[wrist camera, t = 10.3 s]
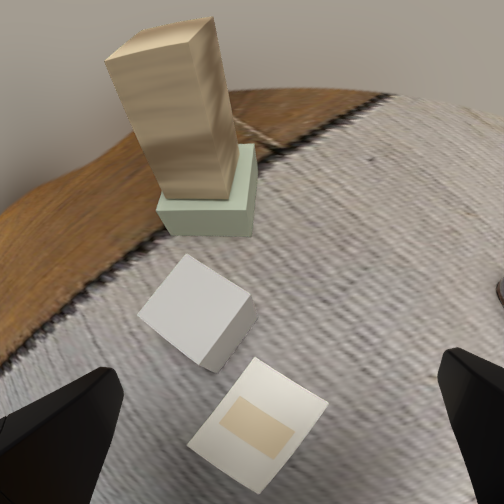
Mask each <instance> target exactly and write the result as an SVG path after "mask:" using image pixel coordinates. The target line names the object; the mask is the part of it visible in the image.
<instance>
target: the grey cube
mask: <svg viewBox="0 0 504 504" xmlns="http://www.w3.org/2000/svg"><path fill="white" fill-rule="evenodd" d="M137 315H138V316H139V317H140V318H141V319H142V320H143V321H145V322H146V323H147V324H148V325H149V326H150V327H152V328H153V329H154V330H155V331H156V332H158V333H159V334H160V335H161V336H162V337H164V338H165V339H166V340H167V341H168V342H170V343H171V344H172V345H173V346H175V347H176V348H177V349H178V350H180V351H181V352H182V353H183V354H185V355H186V356H187V357H189V358H190V359H191V360H193V361H194V362H195V363H196V364H198V365H199V366H202V367H204V368H206V369H208V370H210V371H212V372H215V373H217V374H218V373H219V371H220V370H221V369H222V367H223V366H224V364H225V363H226V362H227V360H228V359H229V358H230V356H231V355H232V354H233V352H234V351H235V349H236V348H237V347H238V345H239V344H240V343H241V341H242V340H243V338H244V337H245V336H246V334H247V333H248V331H249V330H250V329H251V327H252V326H253V324H254V323H255V322H256V320H257V319H258V315H257V312H256V309H255V306H254V302H253V299H252V296H251V294H250V293H248V292H247V291H245V290H243V289H242V288H240V287H239V286H237V285H235V284H234V283H232V282H231V281H229V280H227V279H226V278H224V277H223V276H221V275H220V274H218V273H216V272H215V271H213V270H212V269H210V268H209V267H207V266H205V265H204V264H202V263H201V262H199V261H198V260H196V259H195V258H193V257H191V256H190V255H188V254H187V253H186V254H185V255H184V257H183V258H182V259H181V260H180V262H179V263H178V264H177V265H176V266H175V268H174V269H173V270H172V271H171V273H170V274H169V275H168V276H167V278H166V279H165V280H164V281H163V283H162V284H161V285H160V286H159V288H158V289H157V290H156V291H155V293H154V294H153V295H152V297H151V298H150V299H149V300H148V302H147V303H146V304H145V305H144V307H143V308H142V309H141V311H140V312H139V313H138V314H137Z"/></svg>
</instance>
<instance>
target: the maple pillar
mask: <svg viewBox="0 0 504 504" xmlns="http://www.w3.org/2000/svg"><path fill="white" fill-rule="evenodd" d="M104 62H105V65H106V67H107V70H108V72H109V74H110V77H111V79H112V82H113V84H114V86H115V89H116V91H117V93H118V96H119V98H120V100H121V103H122V105H123V107H124V109H125V112H126V114H127V117H128V119H129V121H130V123H131V126H132V128H133V130H134V132H135V134H136V137H137V139H138V141H139V143H140V145H141V148H142V150H143V152H144V154H145V156H146V158H147V160H148V163H149V165H150V167H151V169H152V171H153V173H154V175H155V177H156V179H157V181H158V184H159V186H160V188H161V190H162V192H163V194H164V196H165V198H166V199H229V195H230V191H231V187H232V183H233V179H234V175H235V170H236V167H237V163H238V159H239V155H240V153H239V147H238V142H237V137H236V131H235V126H234V121H233V116H232V110H231V105H230V100H229V95H228V90H227V84H226V79H225V75H224V69H223V64H222V59H221V53H220V49H219V44H218V38H217V33H216V28H215V23H214V18H213V17H206V18H199V19H193V20H187V21H182V22H176V23H172V24H167V25H162V26H158V27H154V28H149V29H145V30H142V31H140V32H139V33H138V34H136V35H135V36H134V37H132V38H131V39H130V40H129V41H127V42H126V43H125V44H124V45H122V46H121V47H120V48H119V49H118V50H116V51H115V52H114V53H113V54H112V55H111V56H109V58H107V59H106V60H105V61H104Z"/></svg>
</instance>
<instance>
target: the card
mask: <svg viewBox="0 0 504 504" xmlns="http://www.w3.org/2000/svg"><path fill="white" fill-rule="evenodd" d="M328 404H329V403H328V402H327V401H325V400H323V399H322V398H320V397H318V396H316V395H315V394H313V393H311V392H310V391H308V390H306V389H305V388H303V387H302V386H300V385H298V384H297V383H295V382H293V381H292V380H290V379H289V378H287V377H285V376H284V375H282V374H281V373H279V372H278V371H276V370H274V369H273V368H271V367H270V366H268V365H267V364H265V363H264V362H262V361H261V360H259V359H258V358H256V357H254V358H253V360H252V361H251V362H250V364H249V365H248V366H247V368H246V369H245V371H244V372H243V373H242V375H241V376H240V377H239V379H238V380H237V381H236V383H235V384H234V385H233V387H232V388H231V389H230V391H229V392H228V393H227V395H226V396H225V397H224V398H223V400H222V401H221V402H220V404H219V405H218V406H217V408H216V409H215V410H214V411H213V413H212V414H211V415H210V417H209V418H208V419H207V420H206V422H205V423H204V424H203V425H202V427H201V428H200V429H199V430H198V432H197V433H196V434H195V435H194V437H193V438H192V439H191V440H190V442H189V443H188V444H187V446H188V447H189V448H191V449H192V450H193V451H195V452H196V453H197V454H199V455H200V456H201V457H203V458H204V459H205V460H207V461H208V462H210V463H211V464H212V465H214V466H215V467H217V468H218V469H220V470H221V471H223V472H224V473H225V474H227V475H228V476H230V477H231V478H233V479H235V480H236V481H238V482H239V483H241V484H242V485H244V486H246V487H247V488H249V489H250V490H252V491H254V492H255V493H257V494H260V493H261V492H262V490H263V489H264V488H265V487H266V486H267V485H268V484H269V482H270V481H271V480H272V479H273V478H274V476H275V475H276V474H277V473H278V472H279V470H280V469H281V468H282V467H283V466H284V464H285V463H286V462H287V461H288V459H289V458H290V457H291V455H292V454H293V453H294V452H295V450H296V449H297V448H298V446H299V445H300V444H301V442H302V441H303V440H304V438H305V437H306V436H307V434H308V433H309V432H310V430H311V429H312V427H313V426H314V425H315V423H316V422H317V420H318V419H319V417H320V416H321V415H322V413H323V412H324V410H325V409H326V407H327V406H328Z"/></svg>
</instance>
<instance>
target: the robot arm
mask: <svg viewBox="0 0 504 504" xmlns="http://www.w3.org/2000/svg"><path fill="white" fill-rule="evenodd" d="M437 378H438V383H439V387H440V390H441V393H442V396H443V400H444V403H445V406H446V410H447V413H448V417H449V420H450V424H451V427H452V429H453V432H454V435H455V437H456V440H457V442H458V445H459V448H460V450H461V453H462V456H463V459H464V462H465V465H466V467H467V470H468V473H469V476H470V480H471V483H472V486H473V489H474V492H475V496H476V499H477V503H478V504H504V368H502V367H500V366H498V365H496V364H494V363H491V362H489V361H487V360H485V359H483V358H481V357H478V356H476V355H474V354H472V353H470V352H468V351H465V350H463V349H461V348H458V347H456V348H452V349H447V350H446V351H445V352H444V353H443V357H442V360H441V364H440V367H439V371H438V376H437ZM123 397H124V391H123V388H122V386H121V383H120V381H119V378H118V376H117V373H116V371H115V370H114V369H113V368H109V367H99V368H97V369H95V370H93V371H92V372H90V373H88V374H86V375H84V376H82V377H80V378H79V379H77V380H75V381H73V382H71V383H69V384H67V385H65V386H63V387H62V388H60V389H58V390H56V391H54V392H52V393H50V394H48V395H46V396H44V397H42V398H41V399H39V400H37V401H35V402H33V403H31V404H29V405H27V406H25V407H23V408H21V409H19V410H17V411H15V412H13V413H11V414H9V415H8V416H7V417H6V416H5V417H3V418H1V419H0V504H89V503H90V500H91V497H92V495H93V492H94V489H95V486H96V483H97V480H98V477H99V474H100V472H101V469H102V466H103V463H104V461H105V458H106V455H107V452H108V450H109V447H110V444H111V441H112V438H113V435H114V431H115V427H116V424H117V420H118V416H119V412H120V409H121V405H122V401H123Z"/></svg>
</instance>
